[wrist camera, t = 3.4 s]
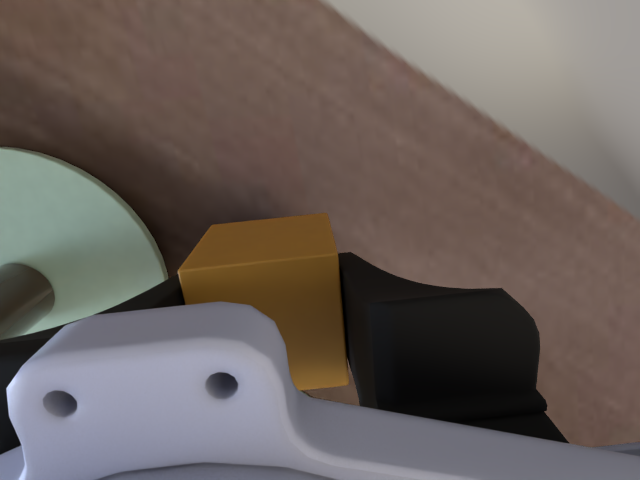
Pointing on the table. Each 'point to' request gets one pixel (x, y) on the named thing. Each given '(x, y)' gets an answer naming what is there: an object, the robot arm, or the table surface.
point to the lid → (66, 245)
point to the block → (279, 287)
